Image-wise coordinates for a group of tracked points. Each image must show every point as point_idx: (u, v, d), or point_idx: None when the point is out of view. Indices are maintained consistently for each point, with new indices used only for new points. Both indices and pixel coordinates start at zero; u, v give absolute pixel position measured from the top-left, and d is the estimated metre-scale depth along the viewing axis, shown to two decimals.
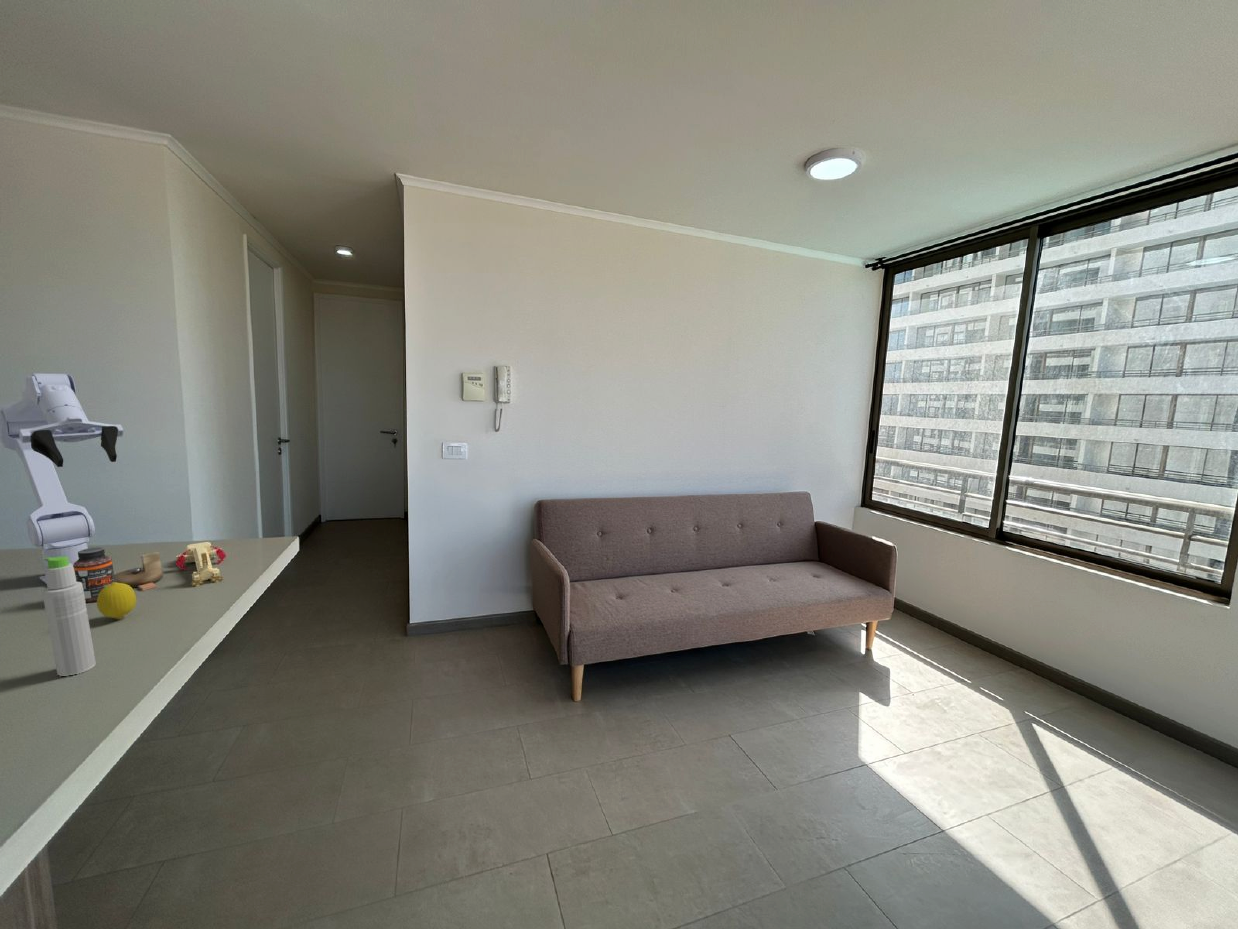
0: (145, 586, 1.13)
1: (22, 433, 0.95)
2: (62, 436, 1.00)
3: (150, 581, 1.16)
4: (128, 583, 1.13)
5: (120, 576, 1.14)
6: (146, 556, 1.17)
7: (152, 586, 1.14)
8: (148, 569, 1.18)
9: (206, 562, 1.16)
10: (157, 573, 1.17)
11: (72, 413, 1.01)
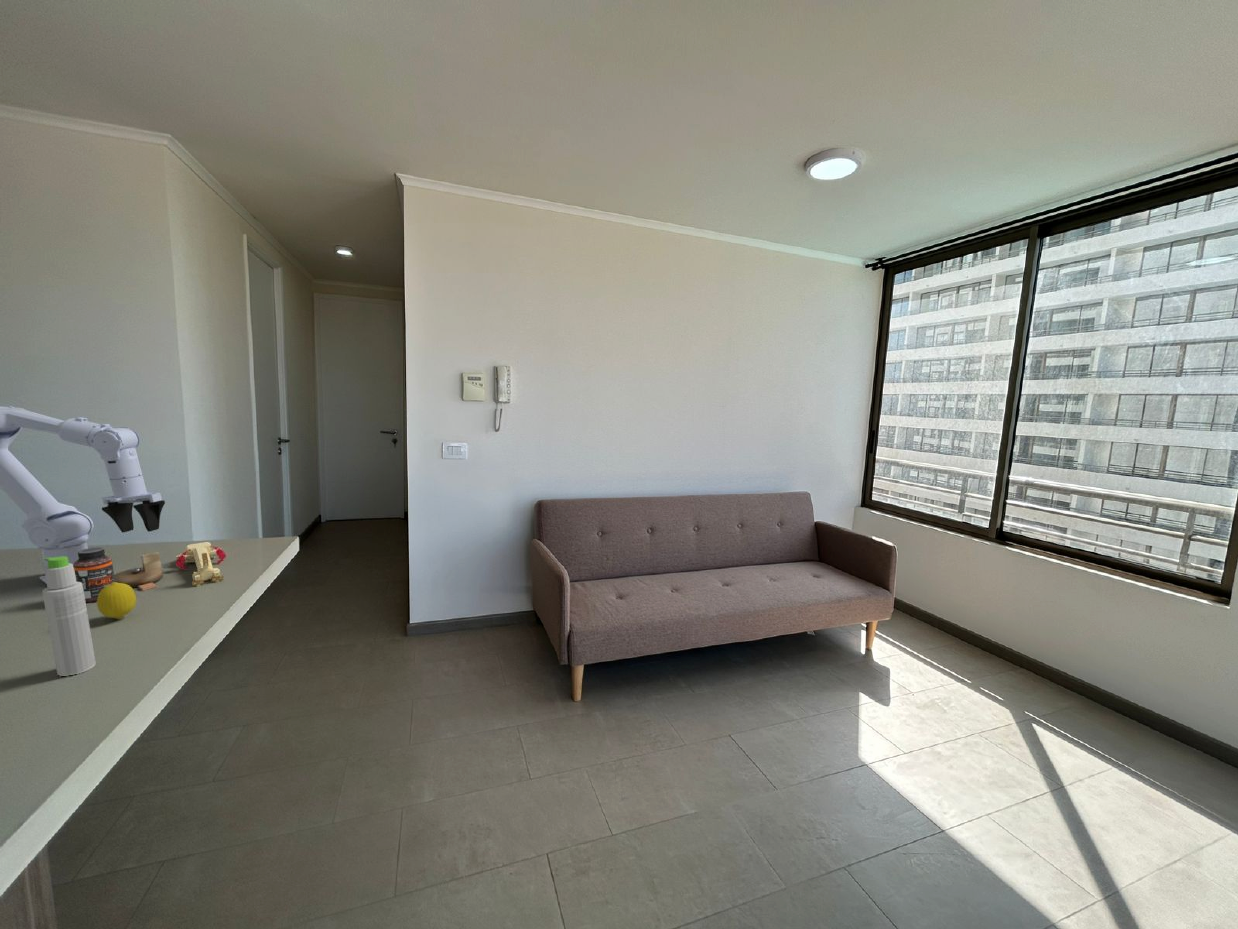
0: (145, 586, 1.13)
1: (103, 501, 1.17)
2: (126, 502, 1.17)
3: (150, 581, 1.16)
4: (128, 583, 1.13)
5: (120, 576, 1.14)
6: (146, 556, 1.17)
7: (152, 586, 1.14)
8: (148, 569, 1.18)
9: (207, 562, 1.16)
10: (157, 573, 1.17)
11: (116, 489, 1.14)
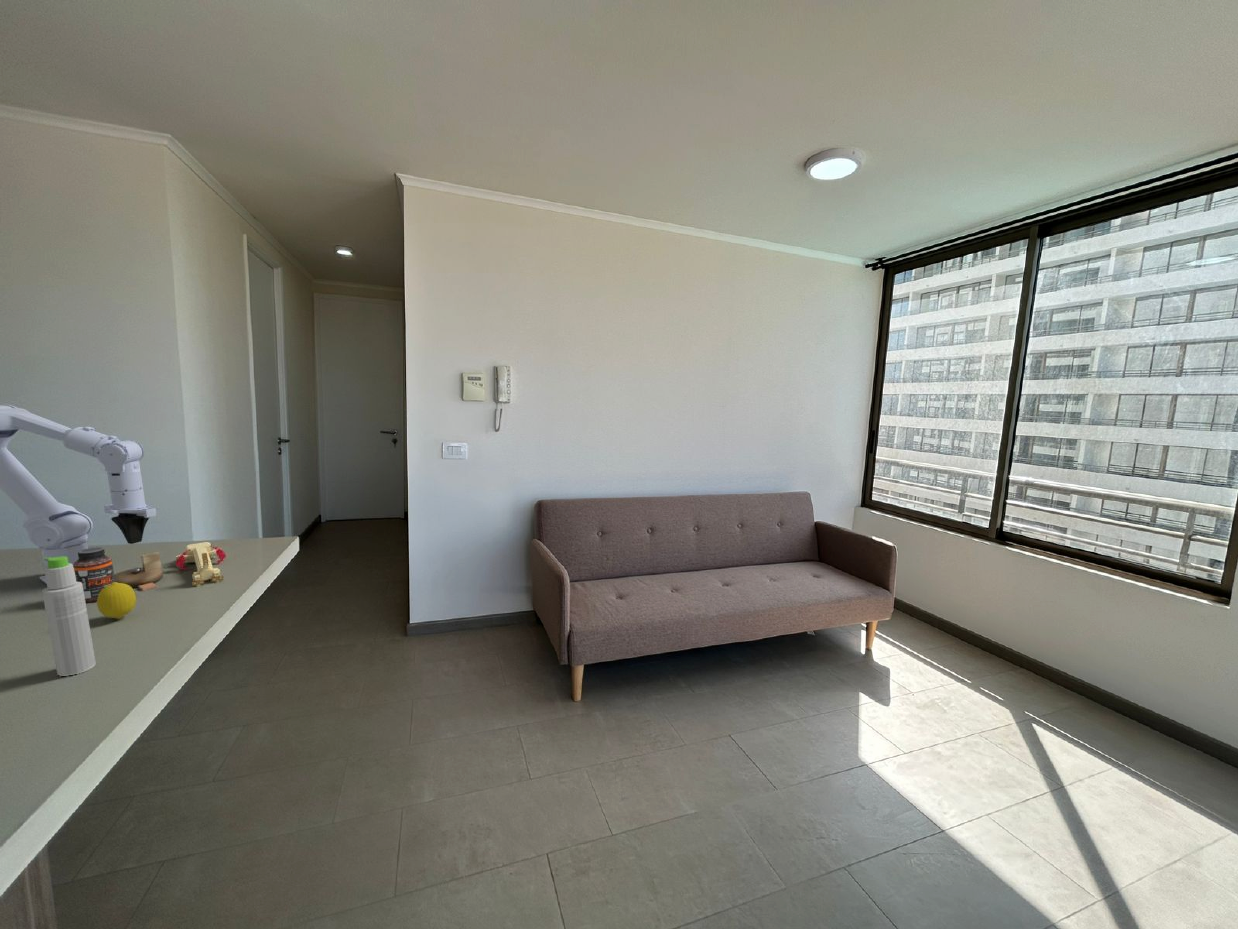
0: (145, 586, 1.13)
1: (105, 510, 1.19)
2: None
3: (150, 581, 1.16)
4: (128, 583, 1.13)
5: (120, 576, 1.14)
6: (146, 556, 1.17)
7: (152, 586, 1.14)
8: (148, 569, 1.18)
9: (207, 562, 1.16)
10: (157, 573, 1.17)
11: (114, 501, 1.15)
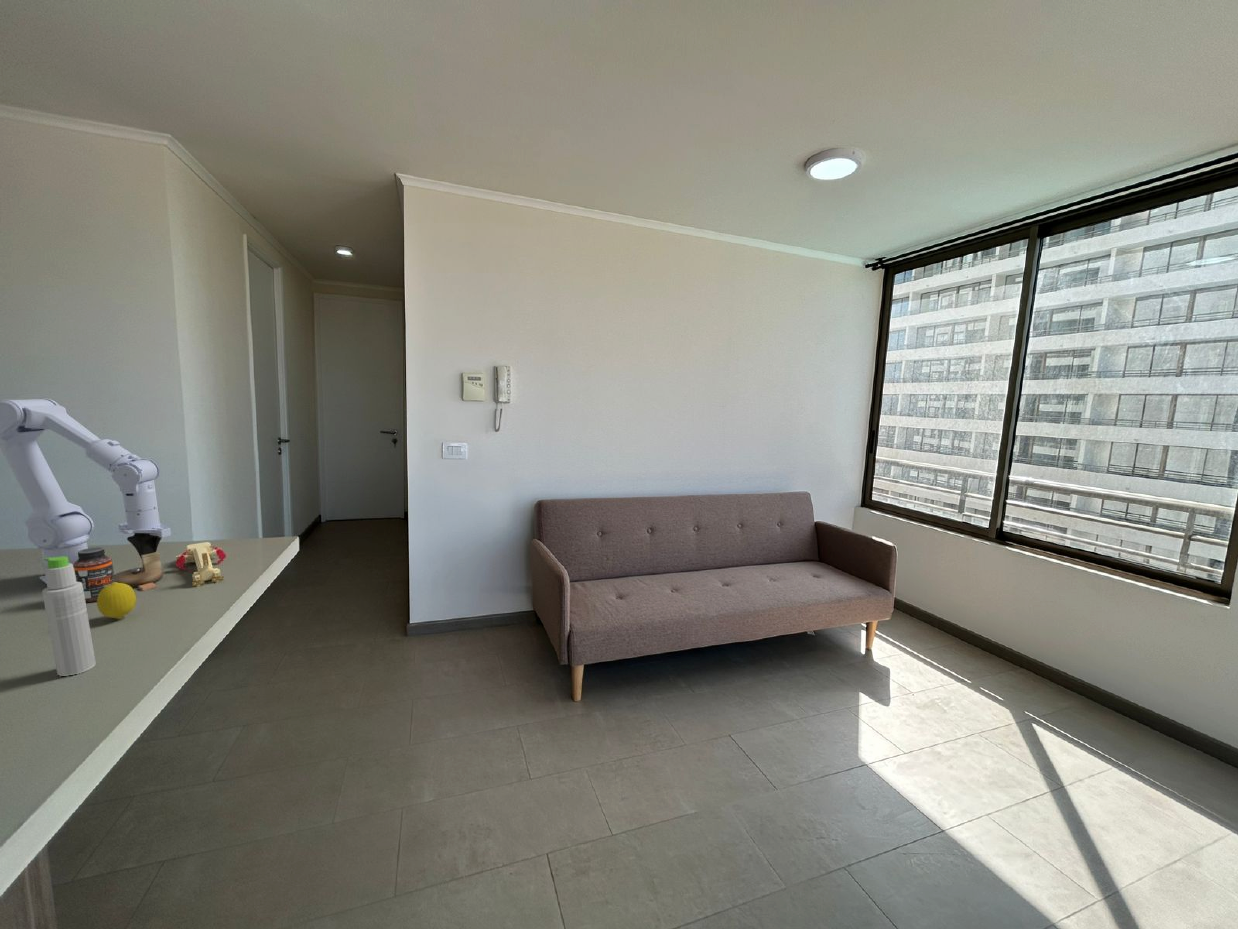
0: (145, 586, 1.13)
1: (119, 529, 1.19)
2: None
3: (150, 581, 1.16)
4: (128, 583, 1.13)
5: (120, 576, 1.14)
6: (146, 556, 1.17)
7: (152, 586, 1.14)
8: (148, 569, 1.18)
9: (207, 562, 1.16)
10: (157, 573, 1.17)
11: (130, 521, 1.15)
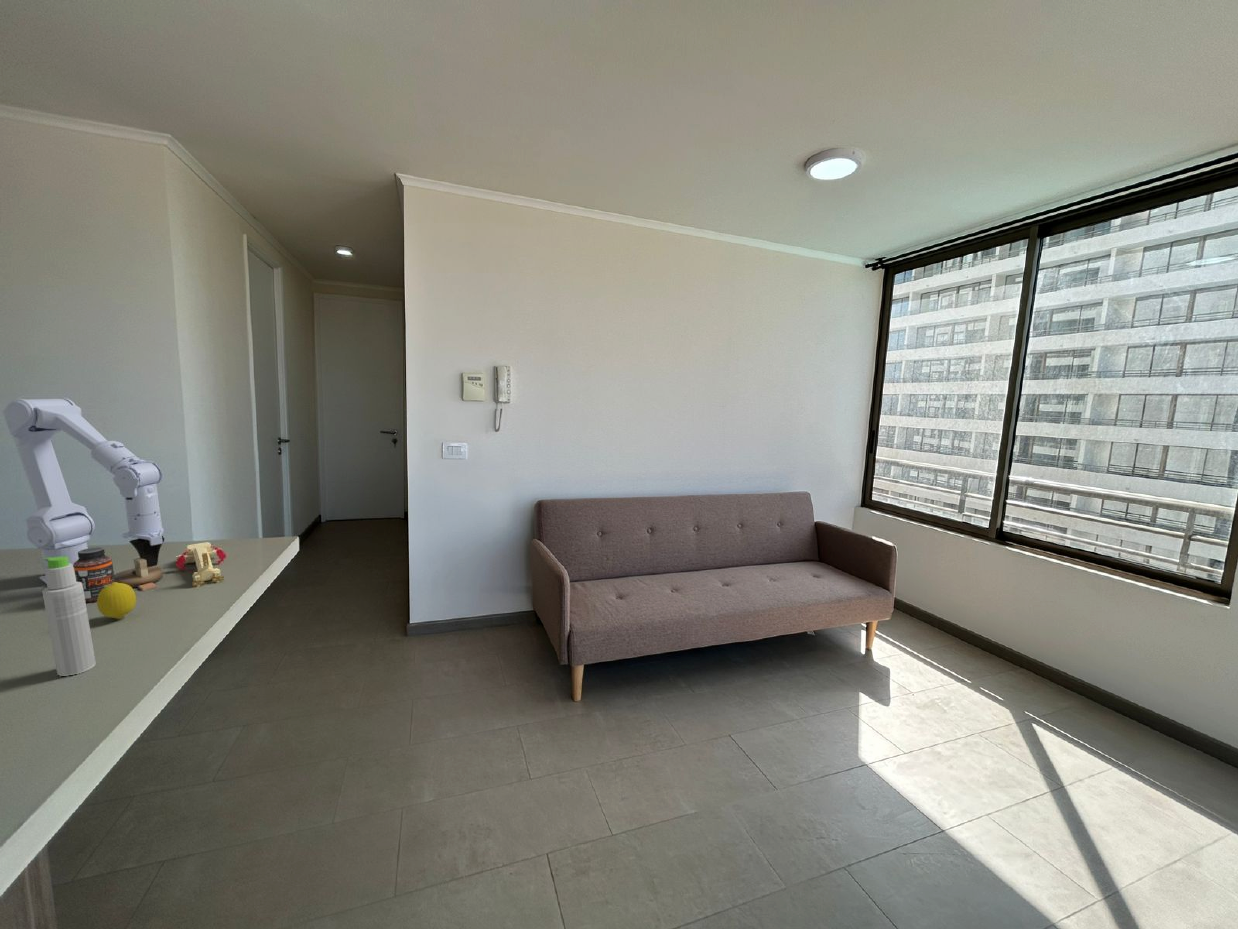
0: (145, 586, 1.13)
1: None
2: None
3: None
4: None
5: None
6: (135, 560, 1.14)
7: (152, 586, 1.14)
8: (137, 574, 1.15)
9: (207, 562, 1.16)
10: (123, 581, 1.12)
11: (129, 525, 1.12)
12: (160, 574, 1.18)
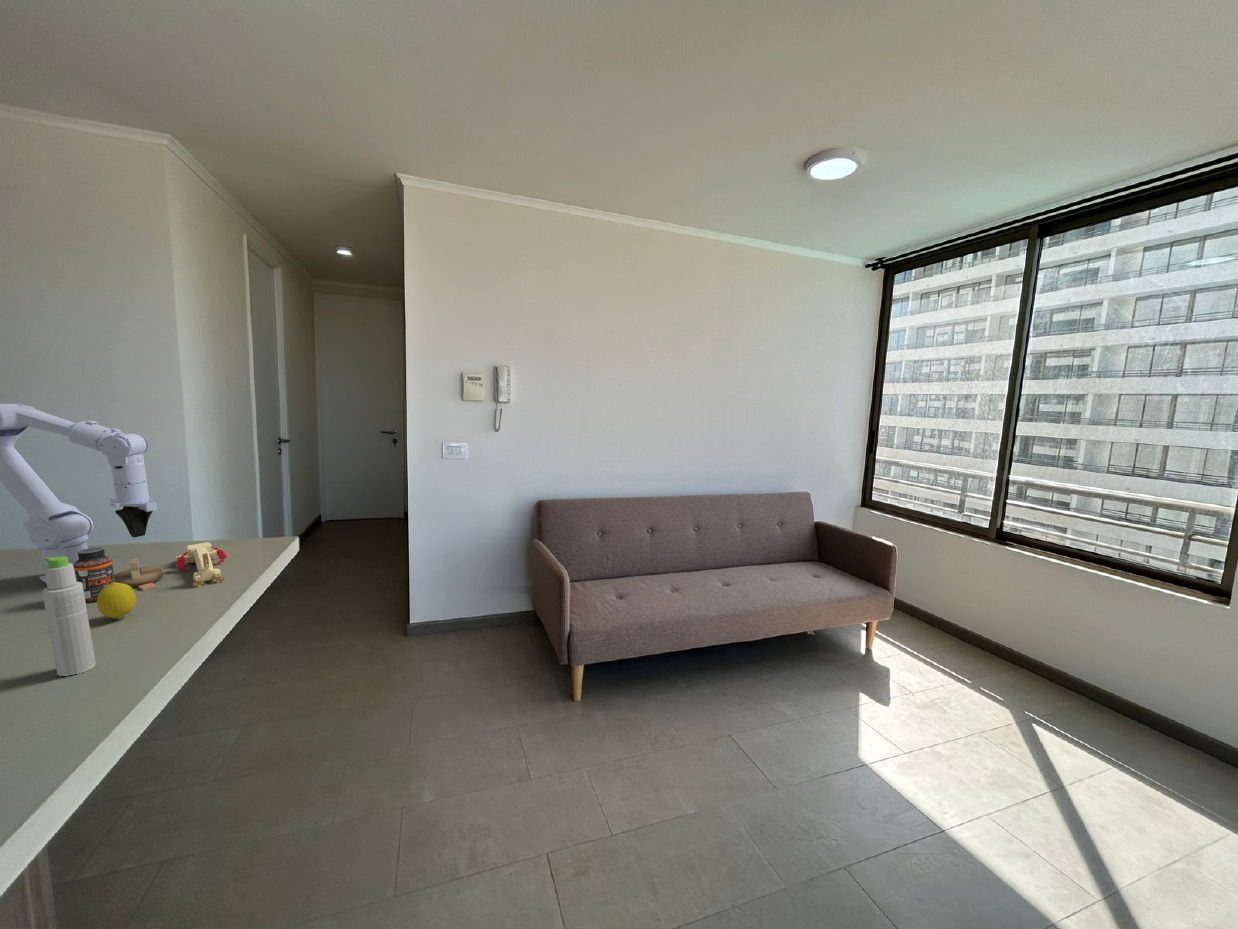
0: (145, 586, 1.13)
1: (111, 502, 1.19)
2: None
3: None
4: None
5: None
6: None
7: (152, 586, 1.14)
8: (132, 574, 1.14)
9: (207, 562, 1.16)
10: (116, 581, 1.12)
11: (117, 494, 1.14)
12: (156, 576, 1.17)
